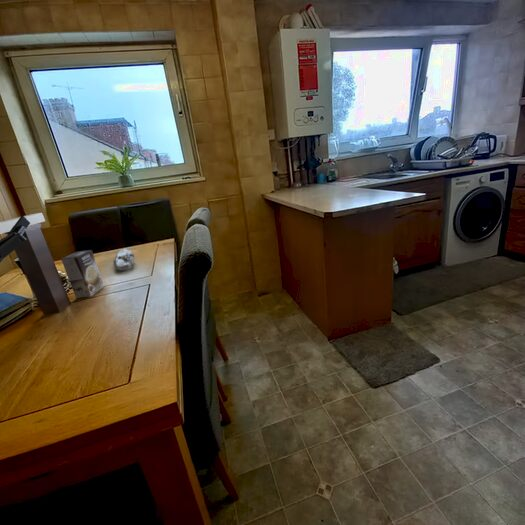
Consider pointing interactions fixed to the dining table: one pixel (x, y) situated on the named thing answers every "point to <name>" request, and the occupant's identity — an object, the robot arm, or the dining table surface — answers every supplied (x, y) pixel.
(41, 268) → the walnut post
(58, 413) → the dining table surface
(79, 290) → the coffee box
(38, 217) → the switch bar
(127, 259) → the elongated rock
